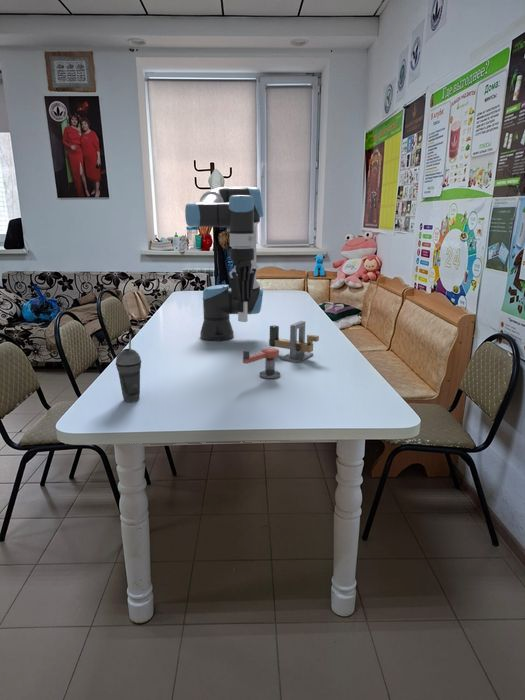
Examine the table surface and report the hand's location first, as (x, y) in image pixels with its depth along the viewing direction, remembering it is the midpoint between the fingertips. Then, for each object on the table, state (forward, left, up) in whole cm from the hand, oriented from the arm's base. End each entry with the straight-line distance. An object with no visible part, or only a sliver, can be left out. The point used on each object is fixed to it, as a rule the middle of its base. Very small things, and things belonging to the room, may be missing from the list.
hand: (242, 321), depth 147 cm
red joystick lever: (+6, +2, -12) cm, 14 cm away
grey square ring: (+5, +30, -20) cm, 36 cm away
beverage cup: (-17, -34, -20) cm, 43 cm away
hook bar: (+3, +30, -16) cm, 35 cm away
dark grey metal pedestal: (+7, +6, -20) cm, 22 cm away
